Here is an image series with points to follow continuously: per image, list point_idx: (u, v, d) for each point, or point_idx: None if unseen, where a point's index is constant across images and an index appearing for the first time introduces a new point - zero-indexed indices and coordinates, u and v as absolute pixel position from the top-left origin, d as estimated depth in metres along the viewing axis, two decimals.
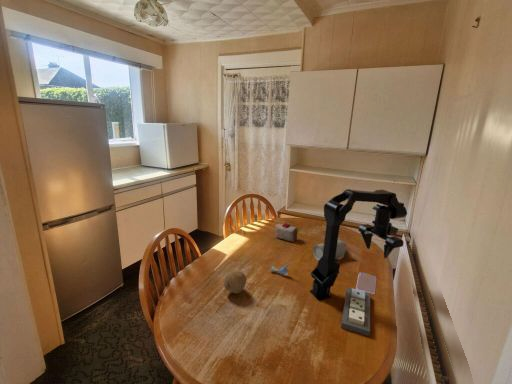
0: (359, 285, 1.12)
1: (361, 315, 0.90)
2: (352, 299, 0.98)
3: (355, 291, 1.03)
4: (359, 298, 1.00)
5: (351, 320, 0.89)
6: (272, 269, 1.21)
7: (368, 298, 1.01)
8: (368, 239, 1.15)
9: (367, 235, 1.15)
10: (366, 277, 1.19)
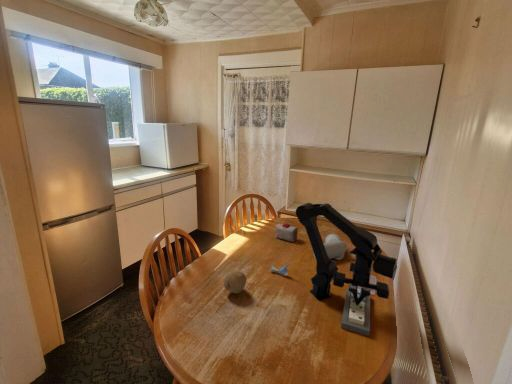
0: None
1: (361, 315, 0.90)
2: (352, 300, 0.98)
3: None
4: None
5: (351, 320, 0.89)
6: (272, 269, 1.21)
7: (368, 298, 1.01)
8: (357, 294, 0.95)
9: (357, 290, 0.94)
10: None
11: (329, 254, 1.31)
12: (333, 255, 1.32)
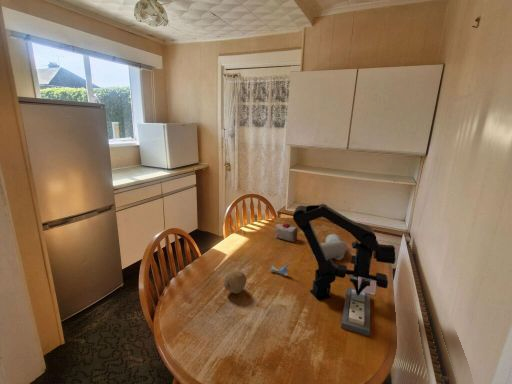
0: (359, 285, 1.12)
1: (361, 315, 0.90)
2: (352, 302, 0.99)
3: (355, 292, 1.03)
4: (359, 299, 1.00)
5: (351, 320, 0.89)
6: (272, 269, 1.21)
7: (368, 298, 1.01)
8: None
9: None
10: None
11: (329, 254, 1.31)
12: (333, 255, 1.32)
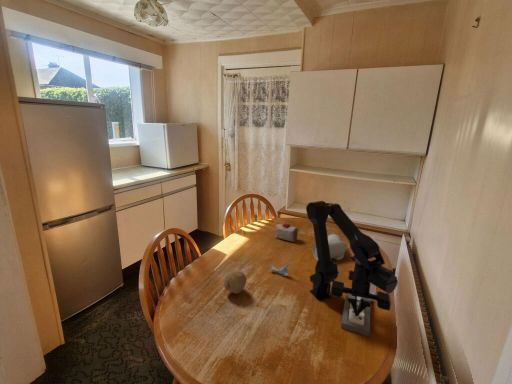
0: None
1: (361, 316, 0.90)
2: None
3: None
4: None
5: (351, 320, 0.89)
6: (272, 269, 1.21)
7: None
8: None
9: (356, 301, 0.88)
10: None
11: None
12: (333, 255, 1.32)
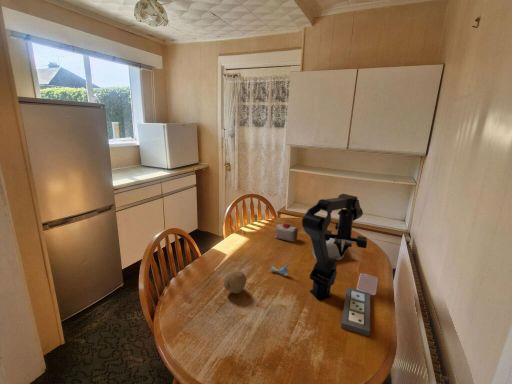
0: (360, 286, 1.12)
1: (361, 318, 0.90)
2: (352, 302, 0.99)
3: (355, 293, 1.04)
4: None
5: None
6: (272, 269, 1.21)
7: (368, 298, 1.01)
8: (341, 247, 1.12)
9: (341, 243, 1.11)
10: (368, 278, 1.18)
11: (328, 254, 1.31)
12: (332, 255, 1.32)
